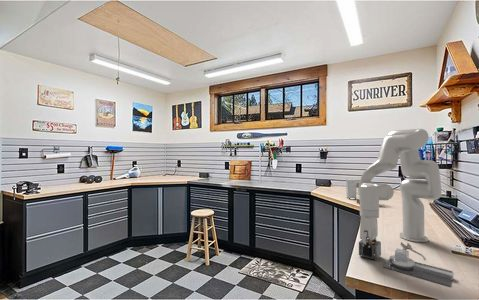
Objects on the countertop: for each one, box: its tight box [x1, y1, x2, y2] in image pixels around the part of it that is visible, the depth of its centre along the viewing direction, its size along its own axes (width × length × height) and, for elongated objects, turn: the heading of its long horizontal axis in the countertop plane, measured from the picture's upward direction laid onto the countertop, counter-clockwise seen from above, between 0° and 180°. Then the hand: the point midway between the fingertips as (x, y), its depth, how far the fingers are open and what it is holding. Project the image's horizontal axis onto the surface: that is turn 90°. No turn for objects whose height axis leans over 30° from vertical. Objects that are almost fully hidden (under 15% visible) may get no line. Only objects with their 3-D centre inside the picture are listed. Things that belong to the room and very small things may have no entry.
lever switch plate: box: [383, 248, 454, 288], centre depth 93 cm, size 14×20×6 cm
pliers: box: [400, 241, 426, 261], centre depth 113 cm, size 10×1×20 cm
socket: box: [358, 238, 382, 261], centre depth 105 cm, size 7×7×6 cm
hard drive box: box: [345, 178, 361, 199], centre depth 243 cm, size 16×8×20 cm, turn 82°
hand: (369, 252), depth 105 cm, fingers closed on socket, 7 cm apart
